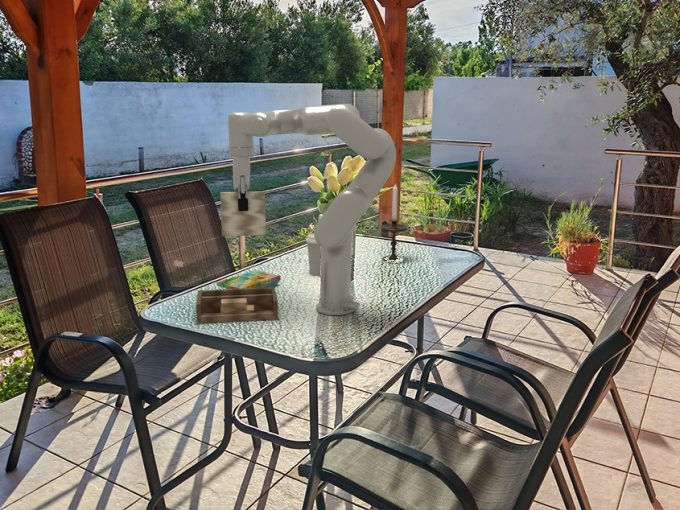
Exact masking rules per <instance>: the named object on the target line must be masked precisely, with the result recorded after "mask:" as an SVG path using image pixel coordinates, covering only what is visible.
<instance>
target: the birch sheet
mask: <svg viewBox="0 0 680 510" xmlns="http://www.w3.org/2000/svg"><path fill="white" fill-rule="evenodd" d="M219 194H220V196H219V197H220V200H219V201H220V219H221V236H222V237H242V236H243V237H247V236H266V235H267V227H266V224H267V222H266V191H264V190H262V191H261V190H260V191H259V190H258V191H247V198H248V211H238V199H239V193H238V191H221V192H220V193H219Z"/></svg>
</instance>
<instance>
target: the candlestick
mask: <svg viewBox="0 0 680 510" xmlns="http://www.w3.org/2000/svg"><path fill="white" fill-rule="evenodd" d="M397 180H398V178H397V177H395V179H394V181H393V182H394V186H393V187H392V209H391V210H392V211H391V212H392V213H391V214H392V215H391V219H390V220H389V221H390V222H391V223H386V224H382V225H381V226H380V230H382V231H384V232H390V233H391V234H392V236H391V237H392V239H391V241H390V242H389V243H390V246H391V248H390V250H391V254H390V255H387V256H383V257H382V259H383V260H384V261H387V260H385V259H384V258H386V257H388V256H390V257H389V260H396V259H398V258H397V256H398V255H396V250H397V249H398V248H397V247H396V246H397V245H398V242H397V241H396V238H397V237H396V234H397V233H401V232H406V231H408V225H404V224H399V223H398V222H399V221H400V219H397V218H398V193H399V192H398V187H397ZM391 262H392V261H391ZM393 262H394V261H393Z"/></svg>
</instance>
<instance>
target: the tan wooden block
mask: <svg viewBox="0 0 680 510" xmlns="http://www.w3.org/2000/svg"><path fill="white" fill-rule="evenodd" d="M249 313H254V305H247V300H246V298H239V299H221V315H228V314H249Z"/></svg>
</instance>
